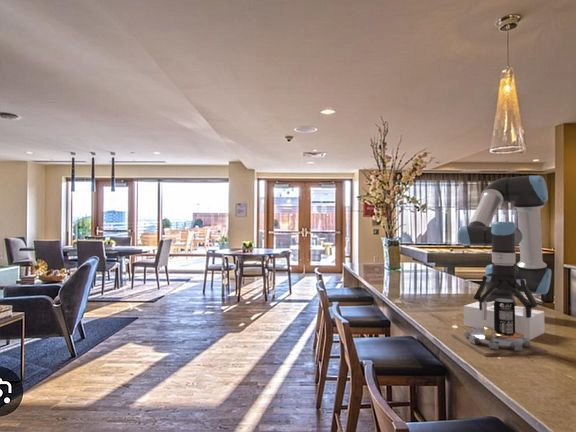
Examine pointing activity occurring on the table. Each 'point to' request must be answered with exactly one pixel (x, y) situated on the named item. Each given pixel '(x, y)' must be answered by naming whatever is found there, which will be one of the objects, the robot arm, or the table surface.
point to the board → (500, 352)
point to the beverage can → (504, 316)
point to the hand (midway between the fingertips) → (504, 323)
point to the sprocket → (497, 339)
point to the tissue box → (534, 322)
